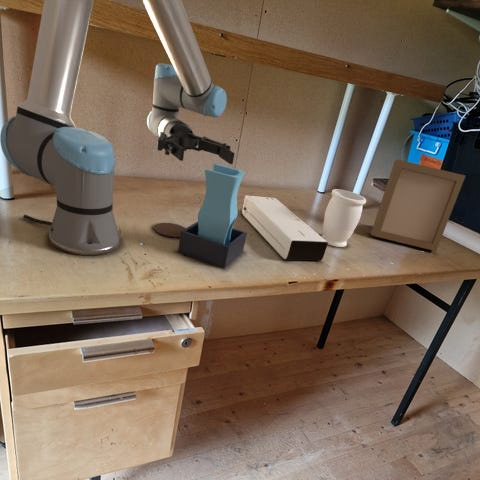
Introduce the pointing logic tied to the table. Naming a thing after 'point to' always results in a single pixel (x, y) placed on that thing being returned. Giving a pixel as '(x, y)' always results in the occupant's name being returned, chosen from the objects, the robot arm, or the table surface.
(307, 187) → the table surface
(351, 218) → the jar
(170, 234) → the coaster
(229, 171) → the vase
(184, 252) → the bin
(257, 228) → the laminator
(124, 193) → the table surface
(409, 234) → the photo frame
